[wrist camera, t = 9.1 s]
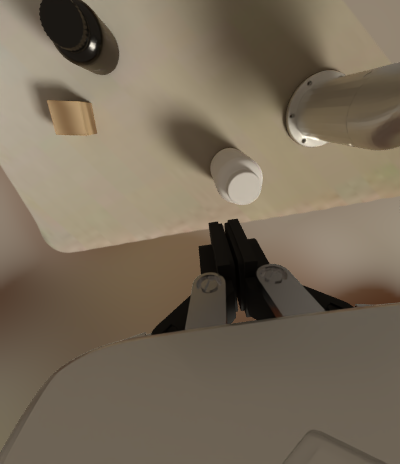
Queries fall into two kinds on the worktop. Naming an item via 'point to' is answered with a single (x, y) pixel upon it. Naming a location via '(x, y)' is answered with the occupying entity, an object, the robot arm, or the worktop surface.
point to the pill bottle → (236, 176)
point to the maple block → (72, 117)
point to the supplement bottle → (80, 35)
